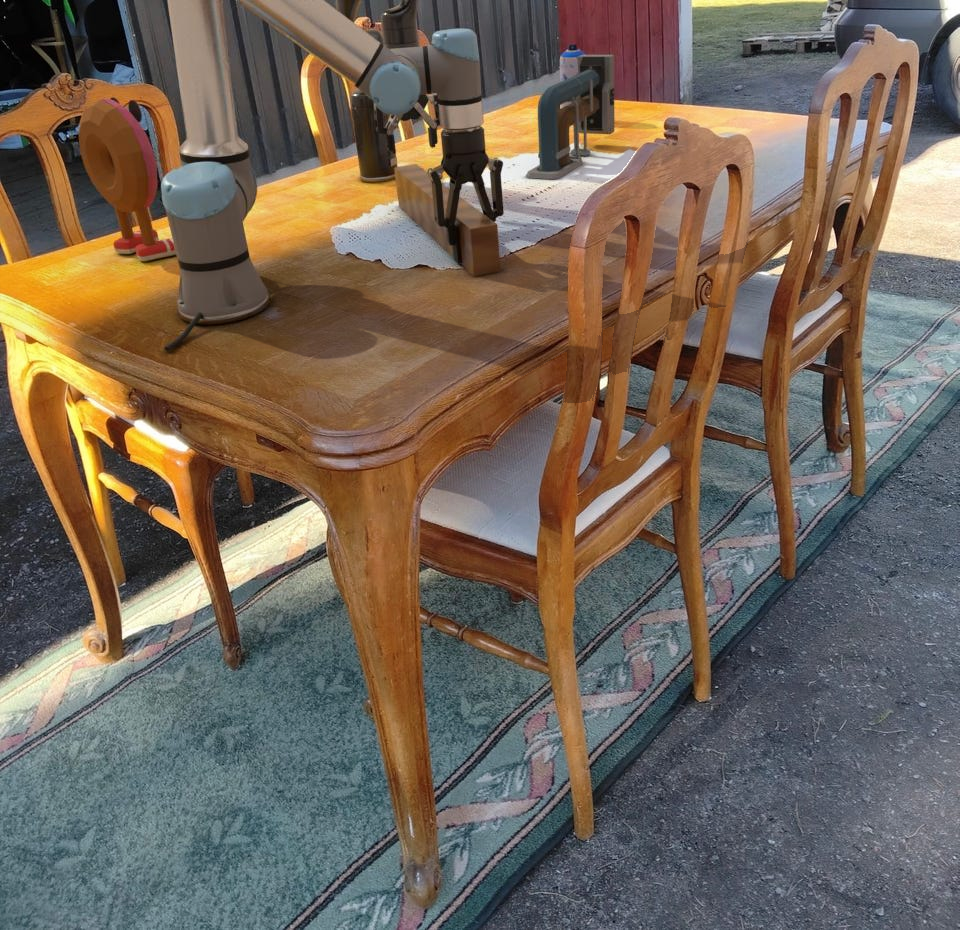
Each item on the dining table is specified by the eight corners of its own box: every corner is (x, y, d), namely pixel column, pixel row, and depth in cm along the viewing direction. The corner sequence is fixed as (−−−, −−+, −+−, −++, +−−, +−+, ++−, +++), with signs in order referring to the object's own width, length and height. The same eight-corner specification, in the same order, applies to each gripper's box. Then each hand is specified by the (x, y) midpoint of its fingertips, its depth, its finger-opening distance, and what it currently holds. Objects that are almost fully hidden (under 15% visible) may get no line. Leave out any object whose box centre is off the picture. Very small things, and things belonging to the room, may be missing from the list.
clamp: (557, 179, 222) (554, 81, 212) (523, 177, 226) (518, 80, 215) (614, 143, 248) (614, 54, 237) (583, 142, 252) (581, 54, 241)
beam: (500, 271, 172) (497, 224, 168) (474, 276, 171) (470, 228, 167) (420, 203, 214) (416, 163, 210) (398, 206, 213) (394, 167, 209)
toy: (199, 253, 194) (163, 96, 179) (154, 268, 188) (113, 106, 173) (144, 236, 207) (106, 89, 192) (101, 250, 201) (58, 98, 186)
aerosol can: (559, 122, 275) (557, 47, 265) (562, 117, 282) (559, 42, 272) (587, 121, 274) (585, 45, 263) (589, 115, 280) (587, 41, 270)
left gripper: (503, 116, 171) (511, 244, 183) (405, 131, 167) (420, 261, 179) (519, 124, 165) (525, 255, 177) (417, 139, 161) (431, 273, 173)
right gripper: (432, 60, 197) (440, 141, 205) (364, 68, 194) (375, 151, 202) (443, 64, 191) (450, 148, 199) (373, 73, 187) (384, 158, 196)
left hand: (472, 258), depth 178 cm, fingers closed on beam, 5 cm apart
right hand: (412, 149), depth 200 cm, fingers open, 8 cm apart
